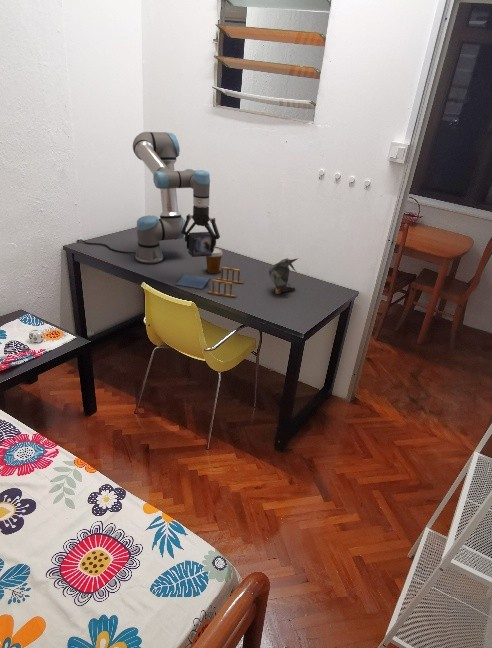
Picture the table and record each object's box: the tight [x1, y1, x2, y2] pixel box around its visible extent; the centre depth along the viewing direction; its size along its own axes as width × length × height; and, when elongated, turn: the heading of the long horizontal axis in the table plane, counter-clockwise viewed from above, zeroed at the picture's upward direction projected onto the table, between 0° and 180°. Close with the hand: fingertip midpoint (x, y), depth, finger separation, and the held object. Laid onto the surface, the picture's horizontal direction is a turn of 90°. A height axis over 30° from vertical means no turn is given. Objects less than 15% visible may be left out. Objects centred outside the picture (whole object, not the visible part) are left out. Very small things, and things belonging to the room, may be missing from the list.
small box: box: [187, 231, 213, 258], centre depth 226 cm, size 11×6×10 cm, turn 118°
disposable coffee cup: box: [205, 247, 223, 274], centre depth 249 cm, size 10×10×12 cm
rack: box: [207, 266, 244, 299], centre depth 234 cm, size 14×19×7 cm
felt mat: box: [175, 273, 210, 290], centre depth 238 cm, size 14×14×1 cm
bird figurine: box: [268, 257, 299, 295], centre depth 235 cm, size 14×15×18 cm
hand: (200, 250), depth 228 cm, fingers closed on small box, 12 cm apart
